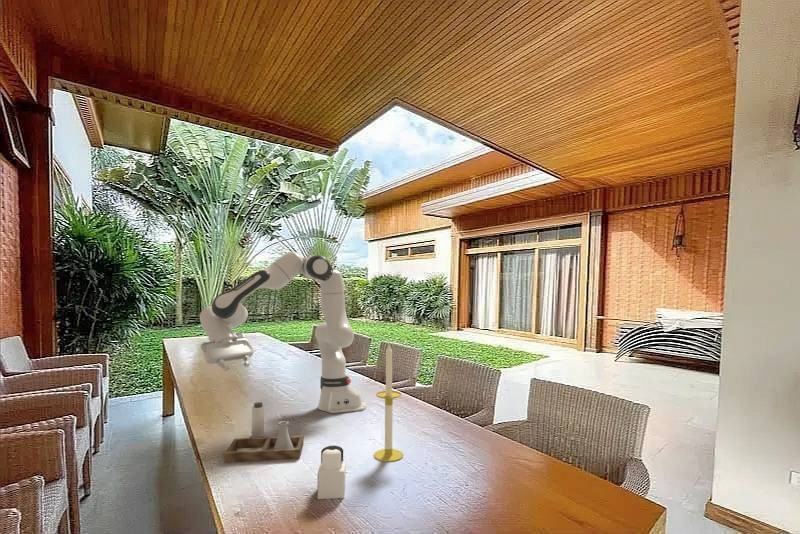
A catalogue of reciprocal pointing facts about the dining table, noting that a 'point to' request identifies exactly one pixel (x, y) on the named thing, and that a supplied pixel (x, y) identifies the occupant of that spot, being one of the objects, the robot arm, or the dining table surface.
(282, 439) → the flask
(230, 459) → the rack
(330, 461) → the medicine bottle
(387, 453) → the candle
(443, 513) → the dining table surface
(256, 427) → the white capped tube
